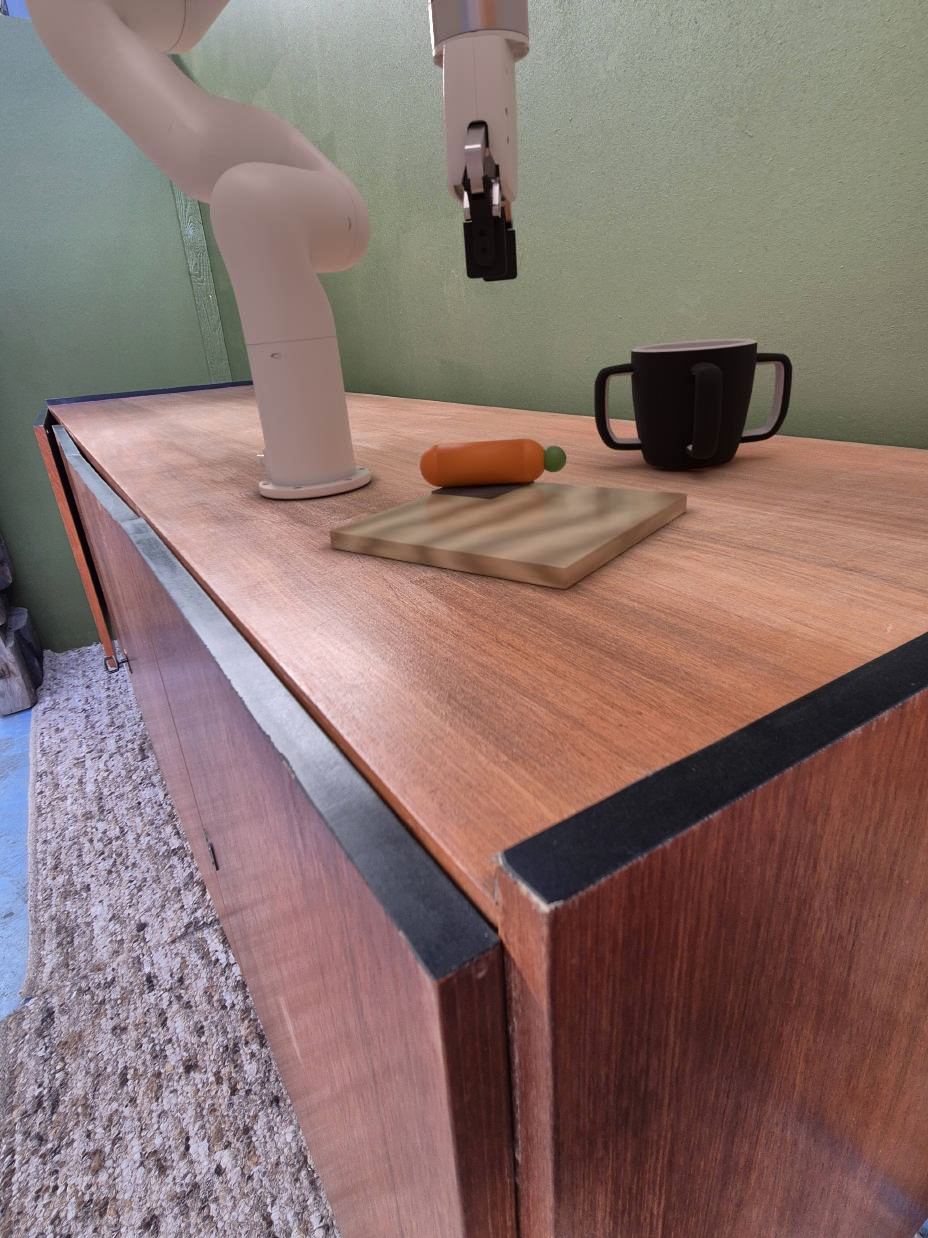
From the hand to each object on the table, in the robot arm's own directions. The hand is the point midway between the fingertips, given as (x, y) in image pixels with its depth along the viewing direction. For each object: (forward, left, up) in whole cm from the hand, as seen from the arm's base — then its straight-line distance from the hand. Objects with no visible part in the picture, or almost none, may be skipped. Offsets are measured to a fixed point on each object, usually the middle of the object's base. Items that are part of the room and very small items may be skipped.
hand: (494, 278), depth 62 cm
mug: (+10, +19, -20) cm, 29 cm away
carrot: (-1, -2, -18) cm, 18 cm away
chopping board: (+6, -9, -19) cm, 22 cm away
